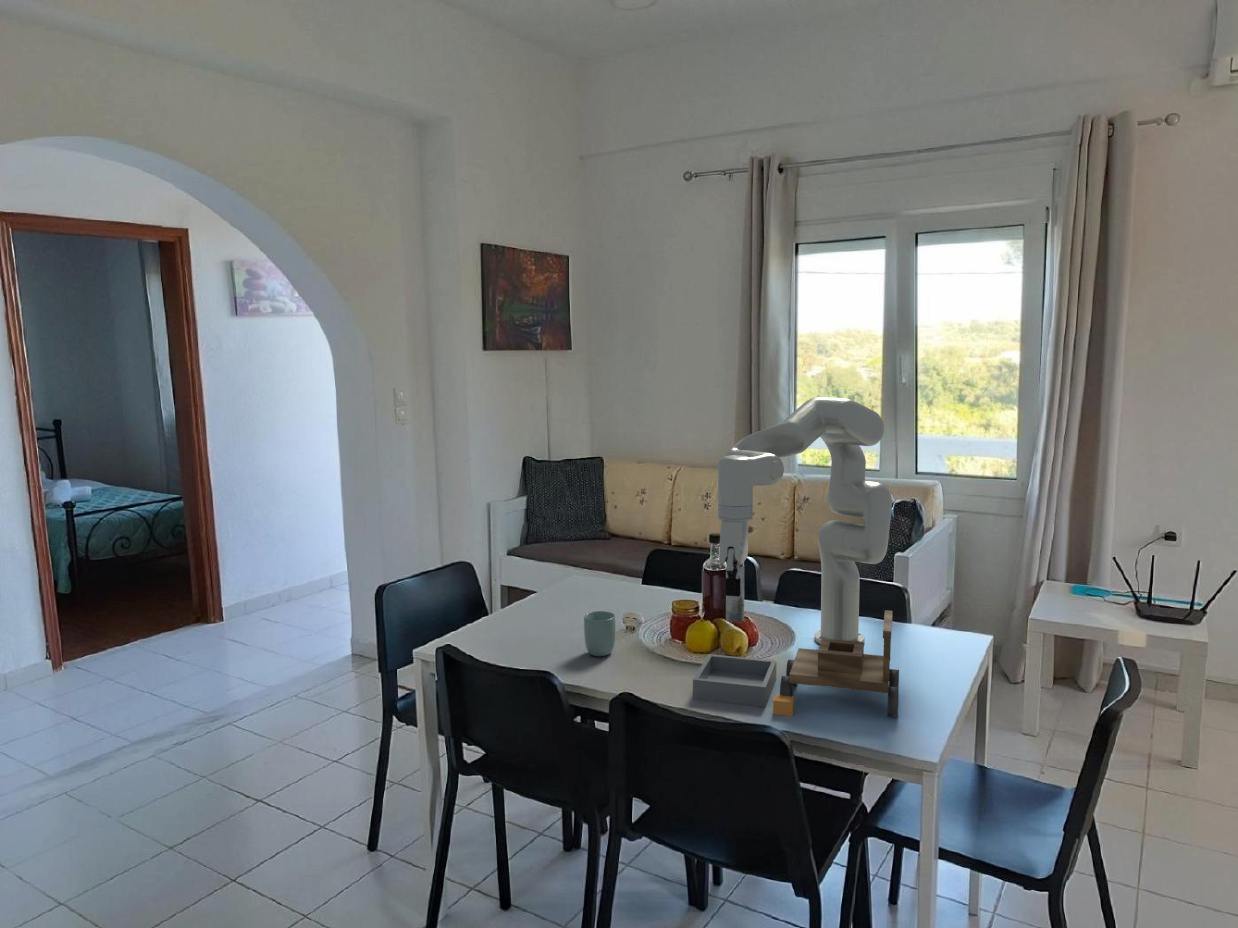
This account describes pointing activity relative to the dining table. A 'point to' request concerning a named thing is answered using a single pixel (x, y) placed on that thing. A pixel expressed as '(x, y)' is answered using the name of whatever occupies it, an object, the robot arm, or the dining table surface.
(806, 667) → the trolley
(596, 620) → the cup
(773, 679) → the tray
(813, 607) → the dining table surface
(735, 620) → the pin
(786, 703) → the orange block
